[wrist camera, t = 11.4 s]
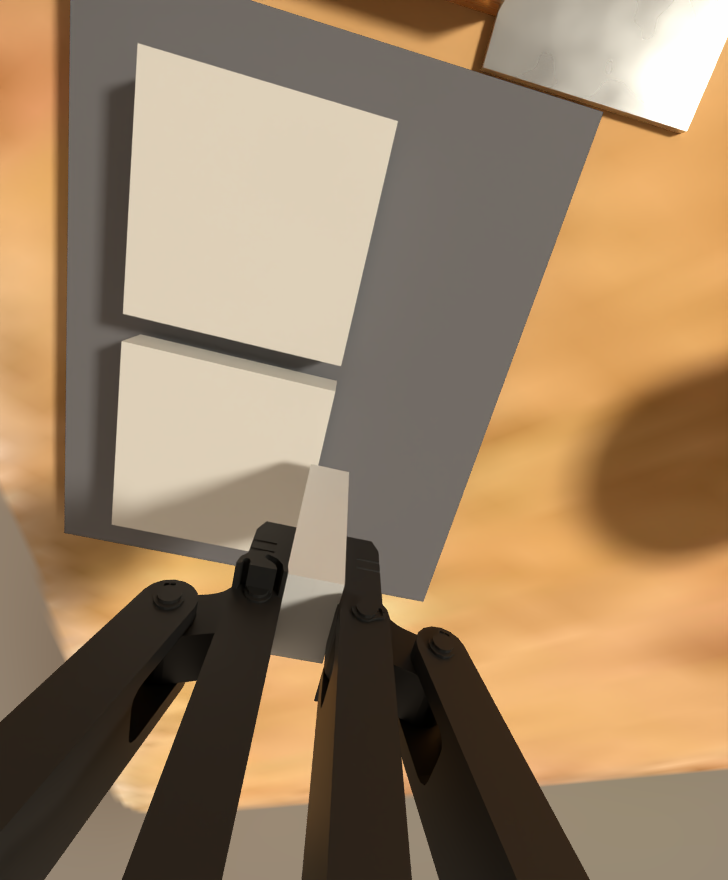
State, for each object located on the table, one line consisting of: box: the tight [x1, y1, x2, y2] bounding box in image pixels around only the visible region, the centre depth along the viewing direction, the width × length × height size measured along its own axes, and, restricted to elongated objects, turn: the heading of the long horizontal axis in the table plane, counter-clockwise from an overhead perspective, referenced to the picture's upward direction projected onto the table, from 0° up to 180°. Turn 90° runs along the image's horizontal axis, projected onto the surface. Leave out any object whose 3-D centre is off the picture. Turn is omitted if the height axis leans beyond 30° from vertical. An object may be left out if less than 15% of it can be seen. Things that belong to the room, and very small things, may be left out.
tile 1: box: [123, 43, 398, 366], centre depth 16 cm, size 8×2×8 cm
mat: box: [64, 0, 603, 602], centre depth 20 cm, size 22×18×1 cm
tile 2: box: [112, 334, 337, 551], centre depth 20 cm, size 8×2×8 cm
